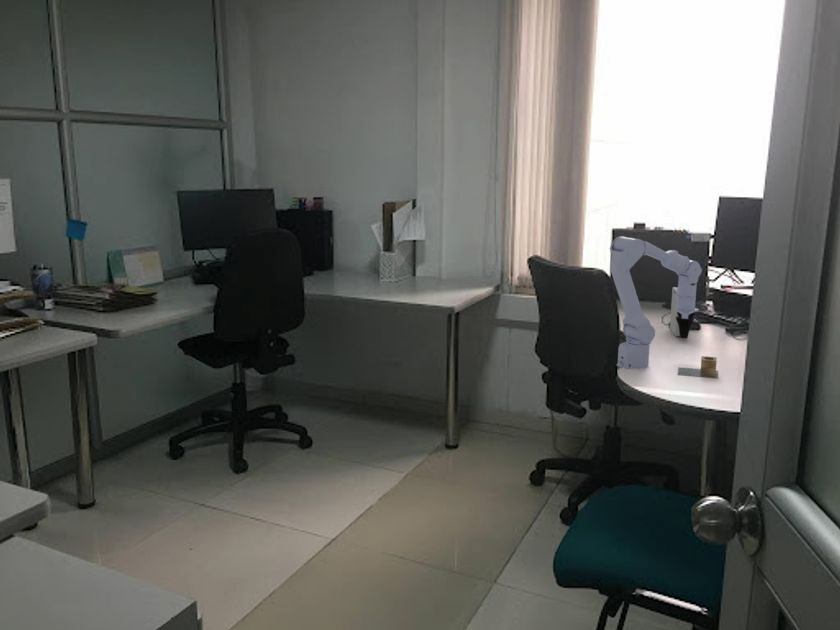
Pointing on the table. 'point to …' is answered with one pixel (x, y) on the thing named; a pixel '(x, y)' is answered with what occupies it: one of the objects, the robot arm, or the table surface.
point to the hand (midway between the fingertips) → (684, 335)
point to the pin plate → (693, 373)
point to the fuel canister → (674, 313)
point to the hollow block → (708, 366)
